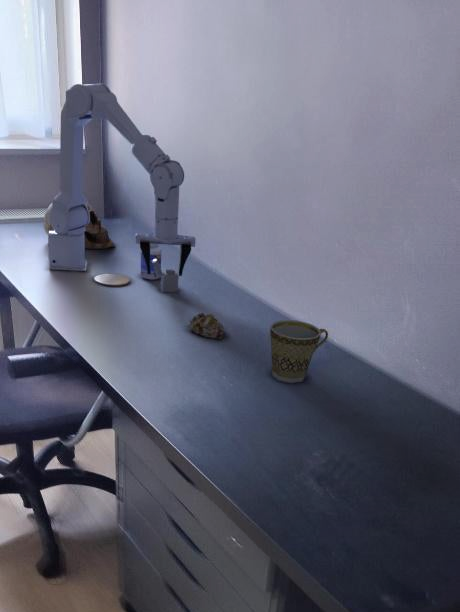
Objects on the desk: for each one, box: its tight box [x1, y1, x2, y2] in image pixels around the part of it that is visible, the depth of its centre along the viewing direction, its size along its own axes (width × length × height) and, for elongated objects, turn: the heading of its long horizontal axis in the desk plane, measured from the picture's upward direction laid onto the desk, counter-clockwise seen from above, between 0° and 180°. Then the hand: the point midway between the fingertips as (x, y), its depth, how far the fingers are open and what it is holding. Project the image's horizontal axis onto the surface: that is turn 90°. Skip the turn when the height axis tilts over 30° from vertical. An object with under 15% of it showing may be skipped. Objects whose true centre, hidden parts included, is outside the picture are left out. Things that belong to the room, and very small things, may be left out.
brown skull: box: [43, 201, 115, 250], centre depth 206 cm, size 16×17×13 cm
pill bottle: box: [140, 244, 162, 281], centre depth 187 cm, size 5×5×10 cm
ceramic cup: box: [269, 319, 329, 384], centre depth 143 cm, size 13×10×10 cm
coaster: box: [94, 273, 131, 287], centre depth 184 cm, size 9×9×1 cm
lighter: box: [151, 259, 180, 293], centre depth 179 cm, size 7×2×8 cm, turn 114°
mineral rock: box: [188, 312, 226, 341], centre depth 160 cm, size 11×4×8 cm
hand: (164, 274), depth 179 cm, fingers open, 7 cm apart
